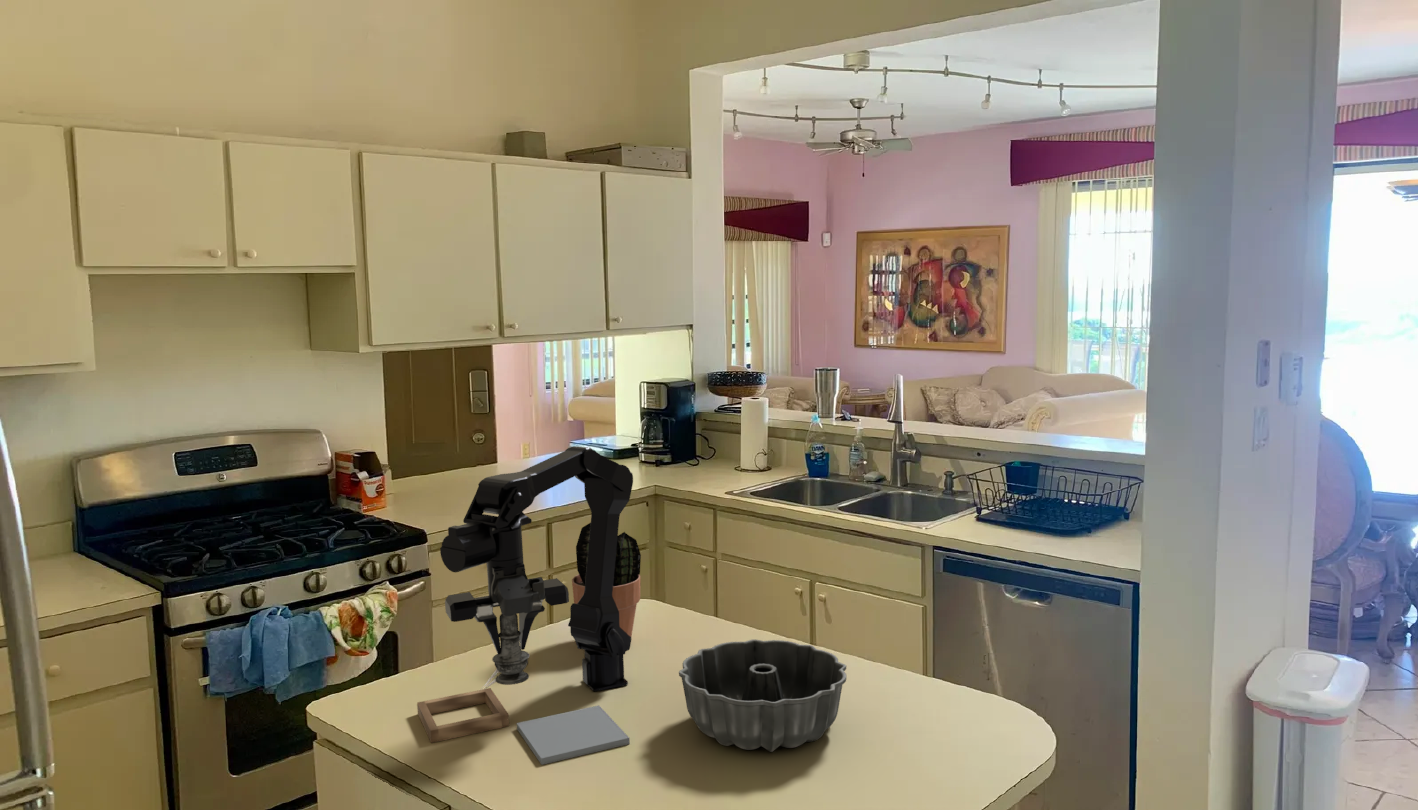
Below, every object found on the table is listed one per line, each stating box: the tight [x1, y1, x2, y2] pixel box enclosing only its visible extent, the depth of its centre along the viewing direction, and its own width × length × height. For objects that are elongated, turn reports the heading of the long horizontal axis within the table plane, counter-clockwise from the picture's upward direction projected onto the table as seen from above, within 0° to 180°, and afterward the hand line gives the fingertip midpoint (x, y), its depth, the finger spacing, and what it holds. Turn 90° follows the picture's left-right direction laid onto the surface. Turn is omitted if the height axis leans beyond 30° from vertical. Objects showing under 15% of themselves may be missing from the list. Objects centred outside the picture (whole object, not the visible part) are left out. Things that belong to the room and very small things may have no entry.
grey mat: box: [516, 704, 631, 766], centre depth 157 cm, size 14×14×1 cm
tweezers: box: [481, 668, 500, 689], centre depth 182 cm, size 17×5×2 cm, turn 164°
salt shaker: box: [491, 613, 530, 686], centre depth 159 cm, size 6×6×12 cm
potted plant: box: [571, 521, 642, 638], centre depth 198 cm, size 14×14×25 cm
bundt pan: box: [678, 639, 847, 753], centre depth 158 cm, size 26×26×10 cm
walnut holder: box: [416, 687, 510, 744], centre depth 165 cm, size 12×12×2 cm
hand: (510, 651), depth 160 cm, fingers closed on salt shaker, 3 cm apart
